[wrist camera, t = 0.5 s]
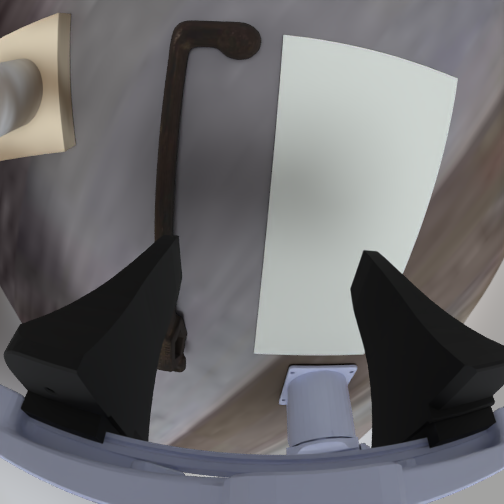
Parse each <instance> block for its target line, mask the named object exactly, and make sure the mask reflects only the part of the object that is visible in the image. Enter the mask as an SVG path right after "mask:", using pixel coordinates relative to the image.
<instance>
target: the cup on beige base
mask: <svg viewBox="0 0 504 504" xmlns="http://www.w3.org/2000/svg"><path fill="white" fill-rule="evenodd" d="M70 22H71V14H66V13H57V14H54V15H52V16H49V17H46V18H44V19H41V20H39V21H37V22H34V23H32V24H30V25H27V26H25V27H23V28H21V29H19V30H16V31H14V32H12V33H10V34H8V35H6V36H4V37H2V38H0V161H2V160H8V159H13V158H20V157H26V156H33V155H40V154H48V153H57V152H65V151H67V150H68V149H70V148H72V147H73V146H75V145H76V142H75V134H74V125H73V115H72V103H71V86H70Z"/></svg>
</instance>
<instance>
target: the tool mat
mask: <svg viewBox="0 0 504 504" xmlns="http://www.w3.org/2000/svg"><path fill="white" fill-rule="evenodd" d="M457 80H458V79H457V78H454V77H452V76H450V75H447V74H445V73H442V72H439V71H437V70H434V69H431V68H429V67H426V66H423V65H420V64H417V63H414V62H411V61H408V60H405V59H402V58H398V57H395V56H392V55H388V54H385V53H381V52H377V51H373V50H369V49H365V48H361V47H356V46H352V45H347V44H342V43H337V42H331V41H325V40H319V39H313V38H306V37H298V36H289V35H283V47H282V60H281V73H280V85H279V97H278V109H277V121H276V132H275V144H274V155H273V166H272V177H271V188H270V199H269V209H268V220H267V230H266V240H265V251H264V261H263V271H262V280H261V290H260V300H259V309H258V319H257V328H256V337H255V347H254V354H277V355H359V354H364V352H365V350H364V346H363V343H362V339H361V336H360V332H359V329H358V325H357V322H356V318H355V314H354V311H353V305H352V299H351V291H350V288H351V285H352V282H353V279H354V276H355V274H356V271H357V268H358V265H359V262H360V259H361V256H362V253H363V250H369V251H377V252H379V253H380V254H381V255H382V256H384V257H385V258H386V259H387V260H388V261H389V262H390V263H391V264H392V265H393V266H394V267H395V268H397V269H398V270H399V271H400V272H401V273H402V274H403V271H404V269H405V267H406V264H407V262H408V259H409V257H410V254H411V252H412V249H413V247H414V244H415V241H416V239H417V236H418V233H419V230H420V228H421V225H422V222H423V219H424V216H425V213H426V210H427V207H428V204H429V201H430V198H431V195H432V191H433V188H434V185H435V181H436V178H437V174H438V171H439V167H440V163H441V160H442V156H443V152H444V148H445V144H446V139H447V135H448V130H449V126H450V121H451V116H452V111H453V105H454V99H455V93H456V87H457Z"/></svg>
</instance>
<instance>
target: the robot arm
mask: <svg viewBox="0 0 504 504" xmlns="http://www.w3.org/2000/svg"><path fill="white" fill-rule="evenodd" d="M181 280H182V270H181V259H180V247H179V236H173V235H163V236H162V237H160V238H159V239H158V240H157V241H156V242H155V243H153V244H152V245H151V246H150V247H149V248H148V249H147V250H146V251H144V252H143V253H142V254H141V255H140V256H139V257H138V258H136V259H135V260H134V261H133V262H132V263H130V264H129V265H128V266H127V267H125V268H124V269H123V270H122V271H120V272H119V273H118V274H117V275H115V276H114V277H113V278H111V279H110V280H109V281H107V282H106V283H104V284H103V285H101V286H100V287H98V288H97V289H95V290H94V291H92V292H90V293H89V294H87V295H85V296H83V297H81V298H80V299H78V300H76V301H74V302H73V303H71V304H69V305H67V306H65V307H63V308H61V309H59V310H56V311H54V312H52V313H50V314H47V315H45V316H42V317H39V318H37V319H34V320H31V321H29V322H26V323H23V324H20V326H19V327H18V329H17V331H16V332H15V334H14V336H13V338H12V339H11V341H10V343H9V345H8V346H7V348H6V350H5V352H4V359H5V362H6V364H7V366H8V367H9V369H10V370H11V371H12V373H13V374H14V375H15V376H16V377H17V379H18V380H19V381H20V382H21V383H22V384H23V386H24V387H25V388H26V389H27V390H28V392H27V394H26V396H25V397H24V396H22V395H21V394H19V393H18V392H16V391H13V390H11V389H9V388H7V387H5V386H3V385H0V457H1V458H2V459H4V460H5V461H7V462H9V463H10V464H12V465H14V466H16V467H17V468H19V469H21V470H23V471H25V472H27V473H28V474H31V475H32V476H34V477H36V478H38V479H40V480H43V481H45V482H47V483H49V484H51V485H53V486H55V487H57V488H60V489H62V490H64V491H67V492H69V493H71V494H74V495H77V496H79V497H82V498H84V499H87V500H90V501H92V502H95V503H98V504H427V503H430V502H433V501H436V500H438V499H441V498H444V497H446V496H449V495H451V494H454V493H456V492H458V491H461V490H463V489H465V488H468V487H470V486H472V485H474V484H476V483H478V482H480V481H482V480H484V479H486V478H488V477H490V476H492V475H494V474H496V473H497V472H499V471H501V470H503V469H504V407H502V408H499V409H497V410H496V411H494V412H492V408H491V406H492V405H494V403H495V401H494V398H493V395H494V394H495V393H496V392H497V391H498V390H499V389H500V388H501V387H502V386H503V385H504V345H501V344H499V343H497V342H495V341H493V340H490V339H488V338H486V337H485V336H483V335H481V334H479V333H477V332H476V331H474V330H472V329H471V328H469V327H467V326H465V325H464V324H463V323H461V322H460V321H458V320H457V319H455V318H454V317H452V316H451V315H449V314H448V313H447V312H445V311H444V310H443V309H441V308H440V307H439V306H438V305H436V304H435V303H434V302H433V301H431V300H430V299H429V298H428V297H427V296H426V295H424V294H423V293H422V292H421V291H420V290H419V289H418V288H417V287H416V286H414V285H413V284H412V283H411V282H410V281H409V280H408V279H407V278H406V277H405V276H404V275H403V274H402V273H401V272H400V271H399V270H398V269H397V268H395V267H394V266H393V265H392V264H391V263H390V262H389V261H388V260H387V259H386V258H385V257H384V256H382V255H381V254H380V253H379V252H377V251H369V250H363V253H362V256H361V259H360V262H359V265H358V268H357V271H356V274H355V276H354V279H353V282H352V285H351V288H350V291H351V299H352V305H353V311H354V314H355V318H356V322H357V325H358V329H359V332H360V336H361V339H362V343H363V346H364V350H365V354H366V358H367V363H368V370H369V378H370V387H371V399H372V447H371V448H370V447H369V446H367V445H366V444H365V443H361V444H359V442H358V437H356V435H355V428H354V421H353V415H352V409H351V403H350V397H349V391H348V384H349V382H350V380H351V379H352V377H353V375H354V374H355V372H356V370H357V366H356V365H328V366H290V367H289V369H288V372H287V376H286V379H285V383H284V386H283V389H282V393H281V396H280V399H279V404H281V405H287V433H288V444H289V446H290V447H289V448H286V452H287V455H258V454H237V453H223V452H212V451H203V450H195V449H187V448H181V447H174V446H168V445H162V444H157V443H152V442H148V436H149V424H150V413H151V405H152V397H153V390H154V384H155V377H156V372H157V366H158V361H159V356H160V352H161V348H162V344H163V341H164V338H165V335H166V332H167V329H168V326H169V323H170V320H171V317H172V314H173V311H174V308H175V306H176V303H177V299H178V295H179V290H180V285H181ZM183 472H185V473H192V474H199V475H209V476H218V477H230V478H217V477H197V476H185V474H184V473H183Z"/></svg>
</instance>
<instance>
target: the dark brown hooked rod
mask: <svg viewBox="0 0 504 504" xmlns="http://www.w3.org/2000/svg"><path fill="white" fill-rule="evenodd" d="M260 44H261V37H260V34H259V32H258V31H257V30H256V29H255V28H254V27H253V26H251V25H249V24H246V23H241V22H220V21H184V22H181V23H179V24H178V25H177V26H176V27H175V29H174V31H173V34H172V38H171V43H170V50H169V59H168V66H167V73H166V81H165V89H164V97H163V106H162V115H161V125H160V136H159V148H158V161H157V176H156V198H155V242H156V241H157V240H158V239H159V238H160V237H162V236H163V235H173V204H174V185H175V169H176V157H177V144H178V132H179V122H180V113H181V104H182V95H183V87H184V80H185V72H186V65H187V59H188V54H189V51H190V50H191V49H192V48H194V47H214V48H217V49H219V50H220V51H221V52H222V53H223V54H224V55H226V56H228V57H230V58H233V59H238V60H242V59H247V58H250V57H252V56H253V55H255V54H256V53H257V51H258V50H259V48H260ZM186 336H187V331H186V329H185V326H184V323H183V319H182V317H180V316H178V315H176V312H175V308H174V311H173V314H172V317H171V320H170V323H169V326H168V329H167V332H166V335H165V338H164V341H163V344H162V348H161V352H160V356H159V361H158V366H157V369H159V370H163V371H169V372H172V371H175V372H183V371H184V370H185V368H186V358H185V356H184V353H183V352H184V346H185V340H186Z"/></svg>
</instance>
